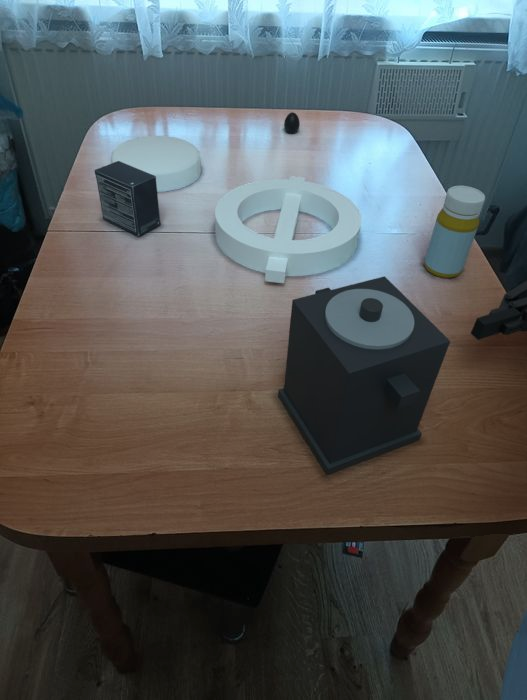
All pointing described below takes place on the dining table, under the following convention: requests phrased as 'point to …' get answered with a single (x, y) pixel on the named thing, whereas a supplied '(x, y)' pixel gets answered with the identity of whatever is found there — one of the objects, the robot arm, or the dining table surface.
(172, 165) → the white round disc
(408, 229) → the dining table surface
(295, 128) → the egg
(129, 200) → the small box
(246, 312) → the dining table surface
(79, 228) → the dining table surface
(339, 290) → the kettle
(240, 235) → the white circle with bar
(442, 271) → the bottle
